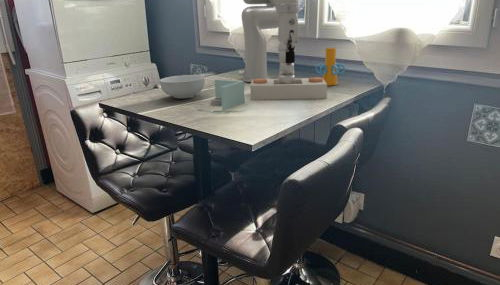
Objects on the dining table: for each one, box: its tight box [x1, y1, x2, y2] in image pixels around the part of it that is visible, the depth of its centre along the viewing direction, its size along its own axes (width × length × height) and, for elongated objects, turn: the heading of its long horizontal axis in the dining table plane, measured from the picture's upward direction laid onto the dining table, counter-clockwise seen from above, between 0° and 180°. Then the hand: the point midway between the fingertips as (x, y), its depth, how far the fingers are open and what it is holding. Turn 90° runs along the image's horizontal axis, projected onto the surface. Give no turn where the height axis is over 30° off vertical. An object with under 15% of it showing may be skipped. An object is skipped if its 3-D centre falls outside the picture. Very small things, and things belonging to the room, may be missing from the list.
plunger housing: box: [249, 77, 328, 101], centre depth 144 cm, size 27×14×5 cm, turn 87°
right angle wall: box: [196, 78, 246, 110], centre depth 133 cm, size 12×12×8 cm
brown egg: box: [309, 76, 323, 82], centre depth 143 cm, size 5×5×6 cm
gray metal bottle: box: [277, 41, 297, 84], centre depth 141 cm, size 6×7×20 cm
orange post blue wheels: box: [314, 47, 346, 87], centre depth 160 cm, size 12×10×15 cm
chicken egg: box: [253, 79, 267, 84], centre depth 144 cm, size 5×5×6 cm
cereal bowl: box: [159, 74, 206, 99], centre depth 148 cm, size 17×17×7 cm
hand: (287, 61), depth 141 cm, fingers closed on gray metal bottle, 6 cm apart
